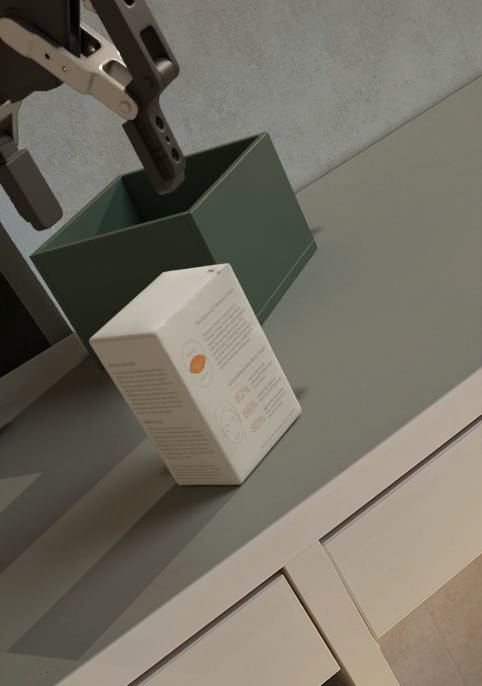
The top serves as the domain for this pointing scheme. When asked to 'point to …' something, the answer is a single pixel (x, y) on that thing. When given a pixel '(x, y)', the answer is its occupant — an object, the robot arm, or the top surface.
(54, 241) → the bin
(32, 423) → the top surface
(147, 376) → the small box
